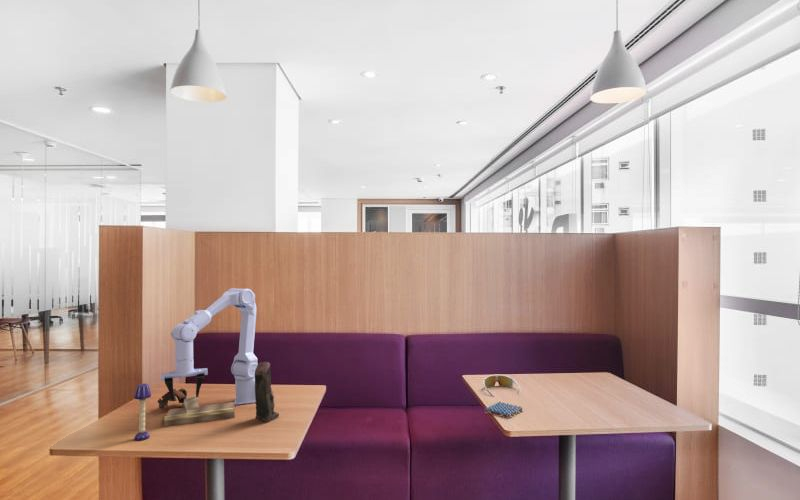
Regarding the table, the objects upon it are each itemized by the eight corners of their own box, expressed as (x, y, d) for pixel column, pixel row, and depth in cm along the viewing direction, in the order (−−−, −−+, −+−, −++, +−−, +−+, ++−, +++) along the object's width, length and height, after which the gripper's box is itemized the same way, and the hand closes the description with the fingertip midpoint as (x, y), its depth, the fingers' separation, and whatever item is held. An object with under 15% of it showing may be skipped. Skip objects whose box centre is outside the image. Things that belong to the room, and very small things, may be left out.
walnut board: (234, 407, 172) (234, 397, 172) (234, 417, 161) (234, 407, 161) (169, 415, 165) (169, 405, 165) (164, 426, 153) (164, 416, 153)
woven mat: (482, 414, 162) (482, 408, 162) (498, 406, 169) (498, 400, 169) (509, 420, 154) (508, 414, 154) (524, 412, 162) (524, 406, 162)
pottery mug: (183, 414, 167) (170, 396, 165) (162, 424, 168) (149, 406, 167) (198, 395, 179) (186, 378, 177) (179, 405, 180) (166, 389, 178)
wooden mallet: (198, 404, 167) (194, 391, 167) (200, 412, 158) (196, 398, 158) (186, 408, 166) (182, 395, 165) (188, 416, 157) (184, 403, 156)
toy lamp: (139, 435, 146) (138, 382, 147) (154, 434, 147) (153, 382, 147) (131, 441, 142) (130, 387, 142) (147, 440, 142) (146, 386, 142)
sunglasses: (512, 385, 195) (513, 373, 194) (524, 401, 180) (524, 389, 179) (479, 386, 194) (479, 374, 193) (488, 402, 179) (488, 390, 178)
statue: (279, 416, 161) (278, 359, 161) (267, 424, 154) (266, 364, 154) (263, 414, 163) (262, 358, 163) (250, 422, 156) (249, 363, 156)
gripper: (206, 353, 165) (207, 391, 165) (161, 358, 159) (161, 398, 159) (207, 357, 159) (208, 397, 159) (160, 363, 153) (161, 403, 153)
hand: (185, 398), depth 159 cm, fingers open, 7 cm apart
